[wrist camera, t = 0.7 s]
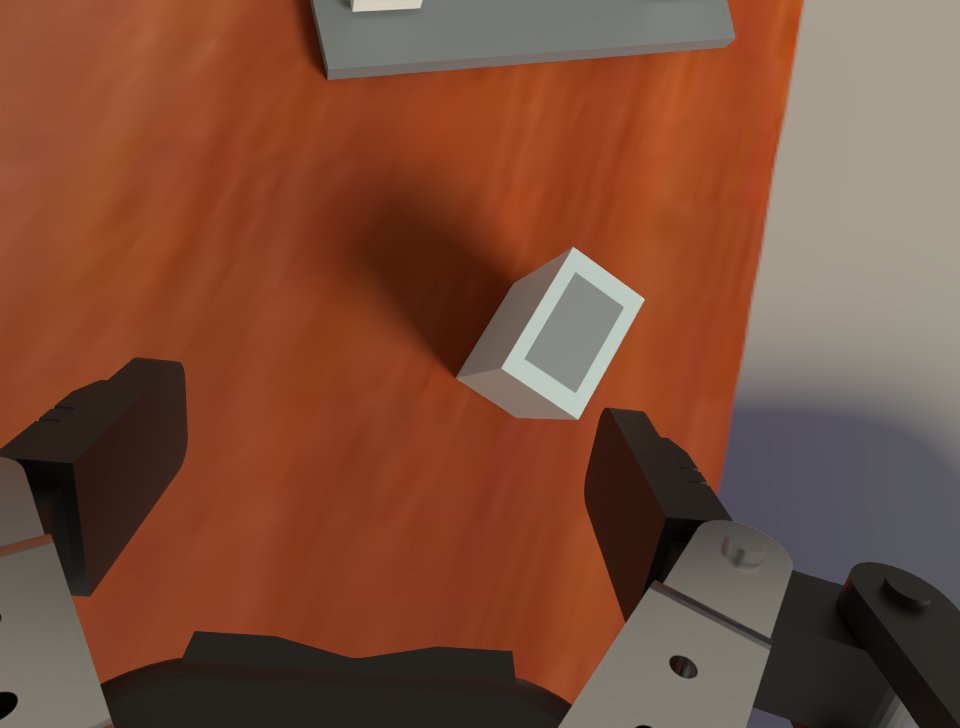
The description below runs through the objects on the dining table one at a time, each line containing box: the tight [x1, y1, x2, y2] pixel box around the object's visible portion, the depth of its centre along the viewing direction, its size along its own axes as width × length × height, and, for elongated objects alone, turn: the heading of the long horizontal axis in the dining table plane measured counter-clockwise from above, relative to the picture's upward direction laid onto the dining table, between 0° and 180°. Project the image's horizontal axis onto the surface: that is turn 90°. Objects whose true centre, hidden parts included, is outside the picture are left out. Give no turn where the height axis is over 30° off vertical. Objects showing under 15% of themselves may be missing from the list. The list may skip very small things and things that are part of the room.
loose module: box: [456, 247, 645, 420], centre depth 34 cm, size 4×7×9 cm, turn 146°
